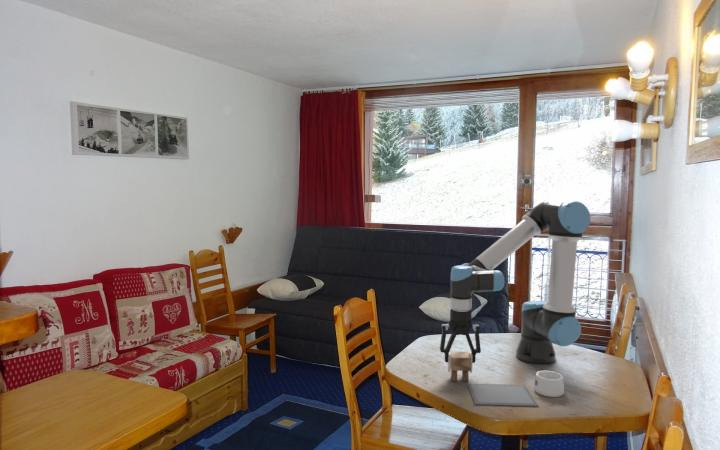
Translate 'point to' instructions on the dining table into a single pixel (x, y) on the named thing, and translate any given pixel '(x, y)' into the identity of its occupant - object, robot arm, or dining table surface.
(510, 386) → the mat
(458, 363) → the small wooden stool
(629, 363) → the dining table surface
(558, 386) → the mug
